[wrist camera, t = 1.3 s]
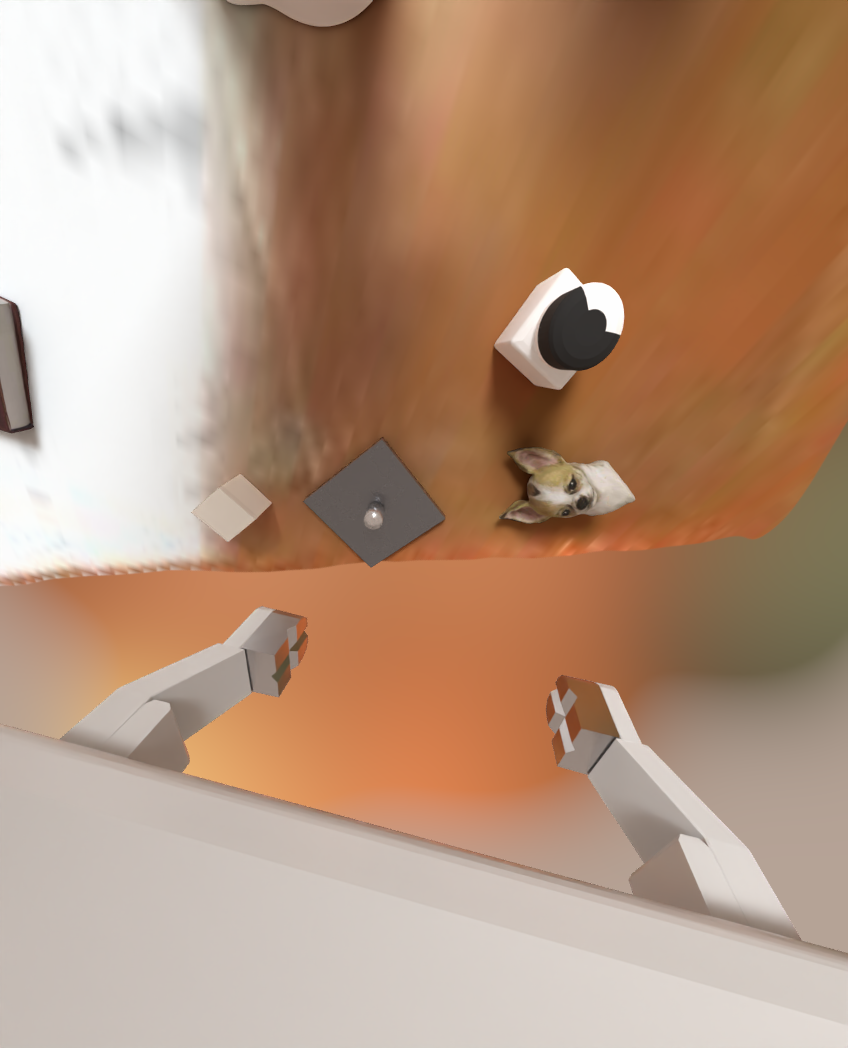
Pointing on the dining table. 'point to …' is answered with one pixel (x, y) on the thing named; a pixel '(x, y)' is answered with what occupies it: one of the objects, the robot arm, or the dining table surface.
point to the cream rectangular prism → (232, 507)
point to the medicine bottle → (562, 329)
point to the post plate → (375, 487)
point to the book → (13, 373)
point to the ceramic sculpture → (565, 487)
